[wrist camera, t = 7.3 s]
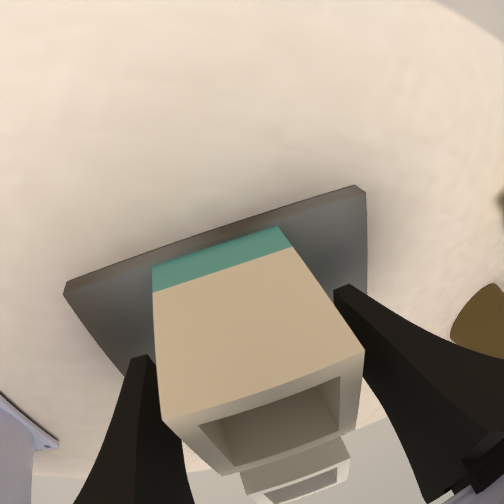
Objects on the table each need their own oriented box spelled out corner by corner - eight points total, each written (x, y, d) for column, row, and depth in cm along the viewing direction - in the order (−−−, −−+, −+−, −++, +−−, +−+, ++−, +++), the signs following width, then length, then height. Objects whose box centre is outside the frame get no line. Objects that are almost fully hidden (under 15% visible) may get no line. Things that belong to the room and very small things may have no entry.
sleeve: (193, 349, 14) (221, 476, 9) (151, 266, 11) (161, 419, 6) (293, 315, 14) (355, 429, 9) (277, 225, 11) (365, 349, 7)
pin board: (183, 430, 18) (194, 488, 15) (66, 282, 11) (43, 366, 8) (356, 369, 20) (386, 419, 16) (354, 185, 12) (424, 236, 9)
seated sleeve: (238, 424, 18) (265, 509, 13) (216, 388, 15) (246, 495, 11) (308, 399, 19) (346, 480, 14) (301, 359, 16) (351, 457, 11)
